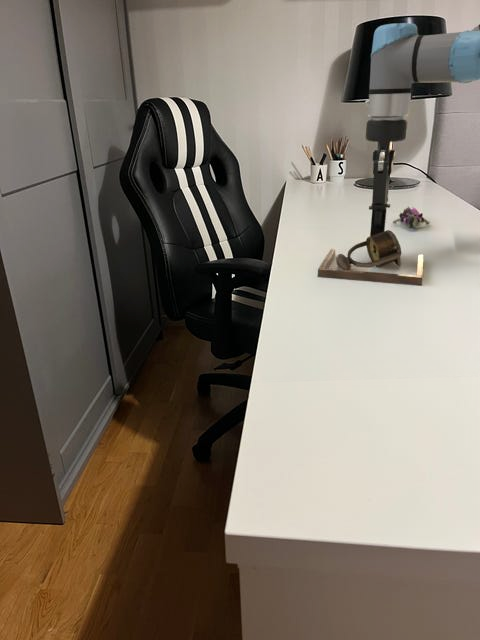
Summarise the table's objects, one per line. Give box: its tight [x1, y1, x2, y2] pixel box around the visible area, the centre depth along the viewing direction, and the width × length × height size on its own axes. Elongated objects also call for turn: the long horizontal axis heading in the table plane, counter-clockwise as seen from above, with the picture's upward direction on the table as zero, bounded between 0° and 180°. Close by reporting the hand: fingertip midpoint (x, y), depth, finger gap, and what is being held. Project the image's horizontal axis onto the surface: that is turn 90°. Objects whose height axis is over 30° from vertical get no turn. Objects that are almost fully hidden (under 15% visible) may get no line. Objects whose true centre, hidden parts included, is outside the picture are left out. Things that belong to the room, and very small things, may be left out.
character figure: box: [392, 206, 430, 229], centre depth 131 cm, size 9×4×16 cm
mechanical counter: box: [335, 229, 402, 270], centre depth 100 cm, size 7×13×10 cm
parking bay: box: [317, 248, 424, 286], centre depth 99 cm, size 19×14×2 cm
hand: (376, 239), depth 104 cm, fingers closed
